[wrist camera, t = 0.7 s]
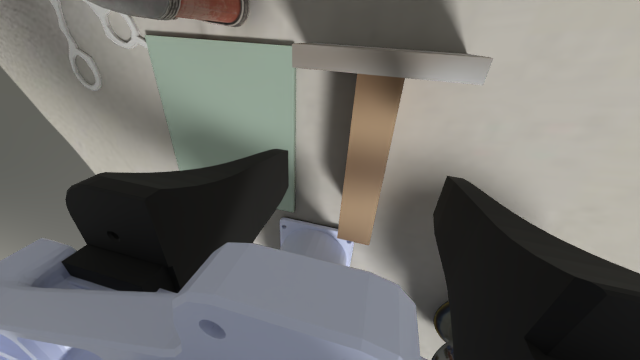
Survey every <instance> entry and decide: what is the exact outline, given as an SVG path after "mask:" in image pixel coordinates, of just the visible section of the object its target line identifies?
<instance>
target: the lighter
mask: <svg viewBox="0 0 640 360" xmlns="http://www.w3.org/2000/svg"><path fill="white" fill-rule="evenodd" d="M87 1H89V2H91V3H93V4H95V5H98V6H100V7H102V8H105V9H109V10H112V11H115V12H118V13H122V14H125V15H128V16H135V17H142V18H149V19H158V20H171V19H173V20H176V19H178V17H181V18H189V19H197V20H200V21H203V22H207V23H210V24H217V25H224V26H232V27H238V26H241V25H243V24H244V23H245V21H246V20H247V18H248V14H249V0H87Z"/></svg>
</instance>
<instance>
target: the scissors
mask: <svg viewBox="0 0 640 360" xmlns="http://www.w3.org/2000/svg"><path fill="white" fill-rule="evenodd" d="M49 1H50V3H51V4H52V6H53V8H54V9H55V11H56V14H57V17H58V23H59V28H60V29H61V31H62V32H63V34H64V35H65V37H66V38H67V39H68V45H69V61H70V64H71V67H72V70H73V72H74V74H75V76H76V77H77V78H78V80H79V81H80V82H81V83H82V84H83V85H84V86H85V87H87V88H88V89H90V90H93V91H96V90H99V89H100V88H101V86H102V78H101V76H100V73H99V70H98V68H97V66H96V64H95V62H94V60H93V59H92V57H91V56H89V55H88V54H86V53H85V52H83V51H82V50H80V49H79V48H78V46H77V44H76V42H75V41H74V39H73V38H72V36H71V35H70V33H69V30H68V27H67V25H66V22H65V19H64V15H63V12H62V8H61V2H60V0H49ZM83 1H84V2H85V3H87V4H88V5H89V6H90V7H91V9H92V10H93V11H94V12H95V13H96V15H97V16H98V17H99V18H100V21H101V23H102V26H103V29H104V31H105V34H106V36H107V37H108V38H109V39H110V40H111V41H112V42H114V43H115V44H117V45H119V46H121V47H124V48H127V49H131V48H135V47H136V46H137V45H138V44H139V45H141V46H143V47H145V48H147V49H148V47H147V43H146V40H145V39H143V38H141V37H140V36H139V30H138V28H137V26H136V24H135V22H134V20H133V18H132V17H131V16H128V15H125V14H122V13H119V14H120V15H121V16H122V17H123V18H124V19H125V21H126V22H127V23H128V25H129V27H130V29H131V40H130V41H129V42H128V43H126V42H124V41H122V40H121V39H120V38H119V37H118V36H117V35H116V34H115V33H114V31H113V30H112V28H111V27H110V25H109V20H108V16H107V15H108V14H109V13H110V12H111V10H109V9H105V8H102V7H100V6H98V5H95V4H93V3H91V2H89V1H87V0H83ZM77 55H79V56H80V57H81V58H83V59H84V60H85V61H86V62H87V64H88V65H89V67H90V68H91V70H92V72H93V74H94V77H95V81H96V82H95V84H94V85H90V84H88V83H87V82H86V81H85V80H84V79H83V78H82V76H81V75H80V74H79V72H78V69H77V65H76V61H75V59H76V57H77Z"/></svg>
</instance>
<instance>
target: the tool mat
mask: <svg viewBox="0 0 640 360" xmlns="http://www.w3.org/2000/svg"><path fill="white" fill-rule="evenodd" d="M144 36H145V39H146V43H147V47H148V51H149V55H150V59H151V63H152V67H153V70H154V74H155V78H156V82H157V86H158V90H159V94H160V98H161V101H162V105H163V109H164V113H165V117H166V121H167V125H168V128H169V132H170V136H171V140H172V144H173V148H174V152H175V156H176V159H177V163H178V167H179V171H182V170H190V169H198V168H204V167H209V166H214V165H219V164H223V163H227V162H231V161H234V160H238V159H241V158H245V157H248V156H251V155H254V154H257V153H261V152H264V151H267V150H271V149H282V150H288V168H289V187H288V189H287V191H286V193H285V195H284V197H283V199H282V201H281V203H280V204H279V206H278V207H277V209H278V210H283V211H288V212H293V213H294V211H295V132H296V68H293V67H292V46H286V45H273V44H260V43H247V42H233V41H220V40H207V39H194V38H180V37H167V36H154V35H144Z"/></svg>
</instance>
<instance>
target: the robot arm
mask: <svg viewBox="0 0 640 360" xmlns="http://www.w3.org/2000/svg"><path fill="white" fill-rule="evenodd" d="M288 187H289V168H288V150H282V149H271V150H267V151H264V152H261V153H257V154H254V155H251V156H248V157H245V158H241V159H238V160H234V161H231V162H227V163H223V164H219V165H214V166H209V167H204V168H198V169H190V170H182V171H172V172H155V173H111V172H104V173H99V174H97V175H95V176H93V177H90V178H88V179H86V180H84V181H81V182H79V183H77V184H75V185H73V186H71V187H70V188H69V189H68V190H67V195H66V205H67V208H68V211H69V213H70V215H71V217H72V218H73V220H74V222H75V224H76V225H77V227H78V229H79V231H80V232H81V234H82V236H83V238H84V240H85V242H86V243H87V245H86V246H84V247H83V248H81V249H80V250H78V251H76V250H75V249H74V248H73V247H71V246H69V245H67V244H63V243H60V242H57V241H53V240H50V239H46V238H40V239H39V240H37V241H35V242H33V243H31V244H30V245H28V246H26V247H24V248H22V249H21V250H19V251H17V252H15V253H13V254H12V255H10V256H8V257H6V258H4V259H2V260H1V261H0V360H427V359H425V358H423V357H421V356H420V349H419V337H418V324H417V312H416V304H415V303H414V302H413V301H412V300H411V298H410V297H409V296H408V295H407V294H406V293H405V292H404V291H403V290H402V288H401V287H400V286H399V285H397V284H396V283H394V282H391V281H389V280H387V279H385V278H382V277H380V276H378V275H376V274H373V273H371V272H369V271H365V270H361V269H357V268H352V267H350V263H351V257H352V251H353V245H354V242H351V241H347V240H343V239H338V238H337V235H338V229H335V228H331V227H326V226H322V225H317V224H312V223H308V222H303V221H299V220H294V219H290V218H284V217H283V218H281V220H280V250H279V249H275V248H271V247H267V246H262V245H258V244H254V243H253V242H254V240H255V238H256V237H257V235H258V234H259V232H260V231H261V230H262V228H263V227H264V225H265V224H266V223H267V221H268V220H269V218H270V217H271V216H272V214H273V213H274V211H275V210H276V209H277V207H278V206H279V204H280V203H281V201H282V199H283V197H284V195H285V193H286V191H287V189H288ZM433 216H434V231H435V237H436V241H437V245H438V250H439V254H440V258H441V262H442V266H443V270H444V274H445V279H446V284H447V290H448V298H449V307H450V316H451V327H452V338H453V353H454V360H640V274H639V273H637V272H634V271H632V270H629V269H627V268H624V267H622V266H619V265H616V264H614V263H611V262H609V261H607V260H604V259H602V258H600V257H597V256H595V255H593V254H590V253H588V252H586V251H584V250H582V249H580V248H577V247H575V246H573V245H571V244H569V243H567V242H565V241H563V240H561V239H559V238H557V237H555V236H553V235H551V234H549V233H547V232H545V231H543V230H542V229H540V228H538V227H536V226H534V225H532V224H531V223H529V222H527V221H526V220H524V219H522V218H521V217H519V216H518V215H516V214H515V213H513V212H511V211H510V210H508V209H507V208H505V207H504V206H502V205H501V204H499V203H498V202H497V201H495V200H494V199H492V198H491V197H490V196H488V195H487V194H485V193H484V192H483V191H481V190H480V189H478V188H477V187H476V186H474V185H473V184H471V183H470V182H468V181H467V180H465V179H463V178H457V177H451V176H447V178H446V181H445V183H444V186H443V189H442V192H441V195H440V197H439V200H438V203H437V206H436V208H435V211H434V214H433ZM284 225H285V226H284Z"/></svg>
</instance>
